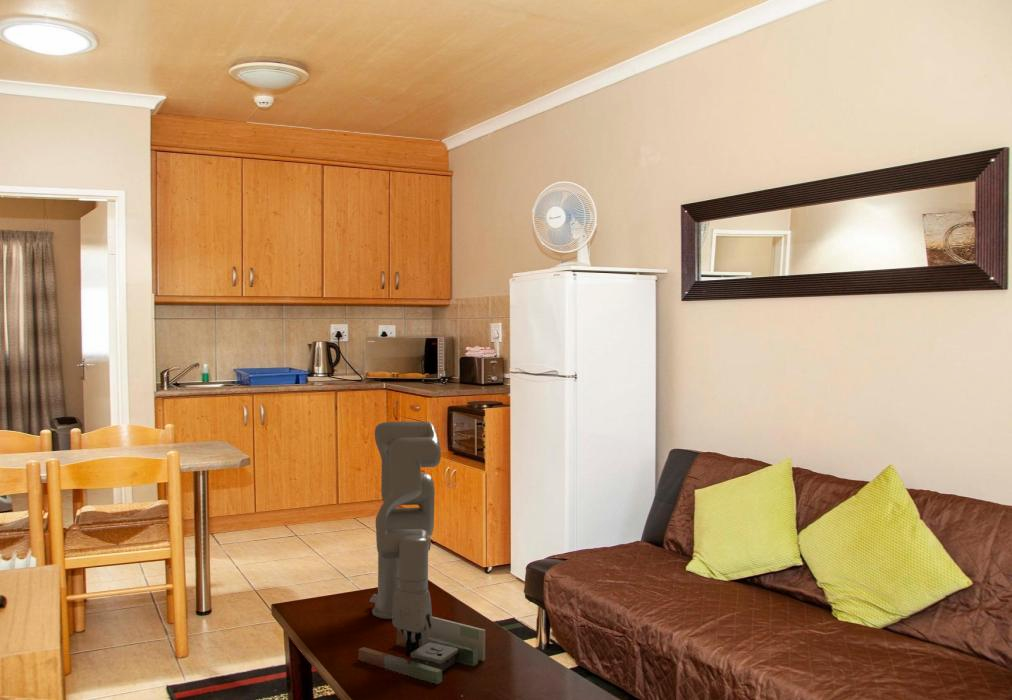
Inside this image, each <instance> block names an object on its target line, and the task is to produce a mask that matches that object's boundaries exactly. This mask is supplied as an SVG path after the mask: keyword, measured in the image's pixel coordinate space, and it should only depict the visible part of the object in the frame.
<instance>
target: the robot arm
mask: <svg viewBox="0 0 1012 700" xmlns="http://www.w3.org/2000/svg"><path fill="white" fill-rule="evenodd" d="M374 441H375V444H376V447H377V449H378V452H379V455H380V459H381V475H380V476H381V479H380V480H381V488H380V491H381V492H380V495H381V500H382V505H381V506H380V507H379V510H378V512H377V514H376V516H375V534H376V535H375V536H376V537H375V538H376V550H377V555H378V556H377V565H378V566H377V594H376V593H373V594H372V595H371V597H370V599H369V602H370V603H374V607H373V608H372V611H371V612H372V615H373V616H374V617H375V618H379V619H385V620H392V621H391V622H392V625H393V627H394V628H395V629H396V630H399V631H401V632H402V633H403V635H404V640H405V641H406V647H405V656H406V657H409V658H411V659H413V658H412V657H410V655H411V652H413V651H415V650H417V649H418V648H419V640H421V638H422V637H427V636H429V635H430V630H429V629H430V628H431V625H432V617H433V615H432V613H433V611H432V600H431V594H430V590H429V584H428V583H429V552H430V550H431V546H432V541H431V537H432V535H433V532H434V524H435V497H436V496H435V484H434V482H435V481H434V480H433V477H432V476H431V475H430V474H429V473H426V472H421V468H435V467H437V466H438V465H439V464H440V462H441V457H442V451H441V450H442V449H441V443H440V439H439V436H438V434H437V431H436V427H435V426H434V424H433V423H432V422H430V421H419V420H418V421H404V420H403V421H385V422H381V423H379V424H377V425H376V426H375V428H374ZM400 506H418V507H400Z"/></svg>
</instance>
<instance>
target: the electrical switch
mask: <svg viewBox="0 0 1012 700" xmlns="http://www.w3.org/2000/svg"><path fill="white" fill-rule="evenodd" d="M456 653H458V648H455V647H450V646H445V645H440V644H435V643H427V644H425V645H423V646H422V647H420V648H418V649H417V650H415V651H413V652H411V655H410V657H409V658H411V657H412V658H411V659H412V661H413V662H417V663H420V664H424V665H427V666H430V667H434V668H437V669H441V670H442V672H443V671H445V670H446V669H448V668H450V667H451V666H453V665H454V664H456V662H455V654H456Z"/></svg>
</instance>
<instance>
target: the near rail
mask: <svg viewBox="0 0 1012 700" xmlns="http://www.w3.org/2000/svg"><path fill="white" fill-rule="evenodd" d="M357 652H358V657H357V658H358V660H360V661H362V662H361V663H364V662H366V663H365V664H367V663H369V664H368V665H370V664H372V665H371V666H373V665H376V666H375V667H377V666H379V667H378V668H380V667H383V668H386V669H385V670H387V669H389V670H388V671H390V670H392V671H391V672H393V671H395V672H394V673H396V672H399V673H398V674H400V673H401V675H403V674H404V675H403V676H406V675H408V676H407V677H409V676H411V677H410V678H413V677H414V678H413V679H416V678H417V680H419V679H420V680H419V681H422V680H425V681H424V682H426V681H428V682H427V683H429V682H431V683H430V684H432V683H435V684H437V685H439V684H441V683H443V671H442V670H441V669H437V668H434V667H430V666H427V665H428V664H425V665H424V663H423V664H420V663H417V662H413V660H409V659H406V658H402V657H399V656H396V655H393V654H389V653H386V652H382V651H378V650H376V649H372V648H367V647H364V646H363V647H361V648H358V651H357ZM360 661H359V662H360ZM383 668H382V669H383ZM440 682H441V683H440ZM438 683H439V684H438ZM435 684H434V685H435Z"/></svg>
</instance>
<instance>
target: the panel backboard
mask: <svg viewBox="0 0 1012 700" xmlns="http://www.w3.org/2000/svg"><path fill="white" fill-rule="evenodd" d="M429 630H430V635H429V636H432V637H436V638H440V639H444V640H447V641H451V642H455V643H459V644H462V645H466V646H470V647H474V648H477V649H478V661H480V660H481V661H480V662H485V661H486V629H484V628H480V627H476V626H472V625H468V624H465V623H460V622H456V621H452V620H448V619H444V618H440V617H435V616H432V625H431V628H430V629H429ZM484 660H485V661H484Z"/></svg>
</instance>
